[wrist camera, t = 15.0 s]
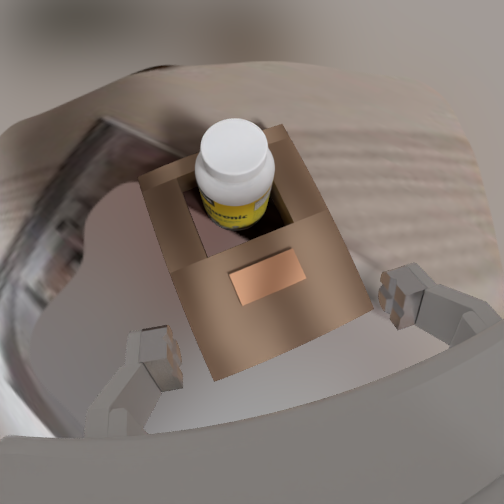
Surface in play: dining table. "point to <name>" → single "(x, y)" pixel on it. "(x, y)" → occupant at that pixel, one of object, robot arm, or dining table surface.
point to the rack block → (257, 267)
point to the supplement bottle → (234, 173)
